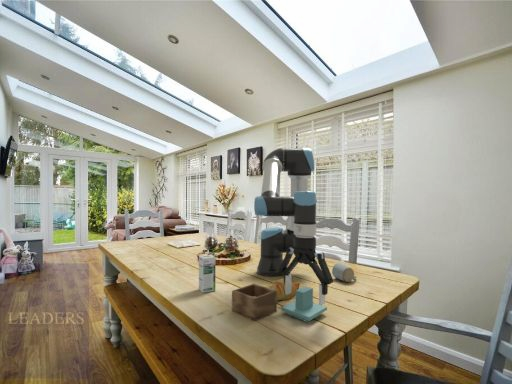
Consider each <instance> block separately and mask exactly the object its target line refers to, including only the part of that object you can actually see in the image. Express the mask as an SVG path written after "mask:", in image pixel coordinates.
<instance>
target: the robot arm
mask: <svg viewBox="0 0 512 384" xmlns="http://www.w3.org/2000/svg"><path fill="white" fill-rule="evenodd" d="M314 159H315V158H314V154H313V150H312V149H311V148H310V147H308V148H307V147H280V148H277V149H274V150H272V151H271V152H270V153H268V155H267V156H266V157H265V158H264V160H263V162H262V171H263V177H262V186H261V193H260V195H259V196H256V197H254V203H253V204H254V206H253V208H254V210H253V211H254V214H255V215H256V216H260V217H262V216H263V217H289V218H290V219H289V225H288V226H287V227H286V230H284V228H283V227H281V226H280V227H269V228H265V229H263V230H261V232H260V238H259V239H260V259H259V261H258V265H257V269H256V272H257V274H259V275H260V276H264V277H281V276H283V279H284V284H285V294H286V295H287V294H290V293H291V283H292V282H293V281H292V273H291V272H292V271H293V270H294V269H295V267H296V266H297V265H298V264H304V265H306V266H307V265H308V266H309V268H310V267H311V269H312V271H313V273H314V274H315V276H316V277H317V279H318V281H319V283H320V284H318V304H319V305H322V306H324V305H325V304H326V295H328V290H329V289H328V286H329V285H331V284H333V283H334V278H333V275H332V273H331V271H330V269H329V267H328V266H329V265H328V264H327V260H326V257H325V253H324V252H316V248H317V238H316V235H317V193H316V192H315V191H314V190H311V191H310V190H308V188H309V186H308V185H309V178H310V177H311V176H312V173H313V172H315V160H314ZM282 172H284V173H285V172H287V177H289V178H290V196H281V193H280V192H281V191H280V190H281V173H282ZM284 255H285V256H284ZM293 255H294V257H293ZM283 257H284V258H283ZM292 257H293V258H292ZM291 259H292V261H291Z"/></svg>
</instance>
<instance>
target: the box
mask: <svg viewBox="0 0 512 384" xmlns="http://www.w3.org/2000/svg"><path fill="white" fill-rule="evenodd" d="M269 288H270V287H269ZM269 288H268V287H266V286H262V285H260V284H256V283H253V284H252V283H251V284H249V285H246V286H242V287H240V288H236V289H234V290H231V293H232V295H231V297H232V298H231V311H232V312H234V313H235V314H237V315H240V316H242V317H245V318H247V319H249V320H251V321H254V322H256V321H258V320H260V319H262V318H265V317H266V316H269V315H271V314H273V313H275V312H277V311H278V310H277V307H278V306H277V305H278V303H277V302H278V300H277V291H276V290H273V289H269ZM253 296H256V297H253Z"/></svg>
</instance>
